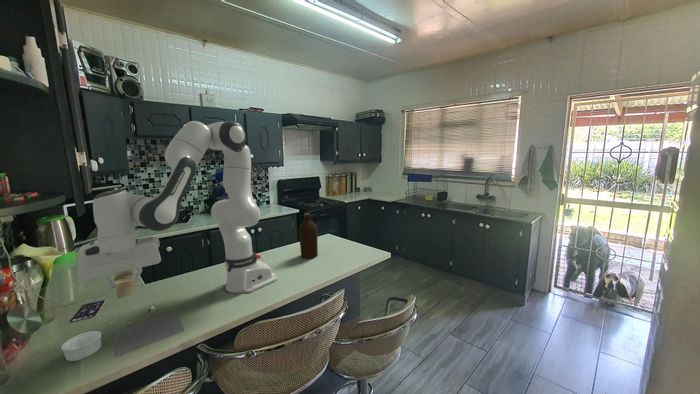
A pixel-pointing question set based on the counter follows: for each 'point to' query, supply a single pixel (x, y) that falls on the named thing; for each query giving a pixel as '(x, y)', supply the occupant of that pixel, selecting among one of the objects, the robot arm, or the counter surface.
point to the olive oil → (308, 238)
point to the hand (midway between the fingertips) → (125, 284)
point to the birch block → (124, 284)
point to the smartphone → (87, 311)
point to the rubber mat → (146, 333)
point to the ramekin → (82, 345)
